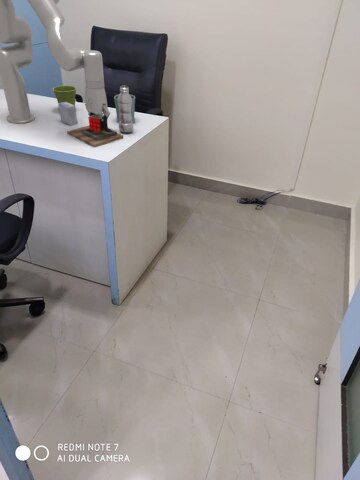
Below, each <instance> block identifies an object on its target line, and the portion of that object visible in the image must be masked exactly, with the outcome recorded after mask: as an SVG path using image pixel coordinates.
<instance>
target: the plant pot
mask: <svg viewBox="0 0 360 480" xmlns="http://www.w3.org/2000/svg"><path fill="white" fill-rule="evenodd" d="M52 91H53V93H54V95H55V98H56V100H57V103H58V104H59V103H62V102H68V103H70V104H72V105H75V106H76V94H77V93H76V92H77V87H76V86H73V85H59V86H55V87H53V88H52Z"/></svg>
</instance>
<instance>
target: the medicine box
mask: <svg viewBox="0 0 360 480" xmlns="http://www.w3.org/2000/svg"><path fill="white" fill-rule="evenodd" d="M76 108H77V107H76V104H75V105H72V104H70V103H68V102H62V103H59V104H58V111H59V118H60V121H61V122H62V123H64V124H67V125H69V126H73V125H76V124H77V125H78V117H77V115H78V114H77V110H76Z"/></svg>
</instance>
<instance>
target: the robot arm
mask: <svg viewBox="0 0 360 480" xmlns="http://www.w3.org/2000/svg"><path fill="white" fill-rule="evenodd" d="M27 2H28V4H29V5H30V7H31V8H32V10H33V12H34V13H35V14H36V16H37V18H38V19H39V21H40V22H41V24H42V25H43V27H44V30H45V32H46V35H45V37H46V43H47V46H48V50H49V51H50V53H51V55H52V57H53V58H54V59H55V61H56V62H57V64H58V66H59V67H61V69H63V70H64V71H65V72H74V71H76V70H80V69H83V70H84V73H83V74H84V79H85V80H84V81H85V89H84V103H85V104H84V106H85V109H86V111H87V112H88V113H87V114H88V117H89V116H92V115H94V114H97V115H99V116H100V118H101V121H100V125H101V130H104V129H107V124H108V119H109V117H110V115H111V112H110V111H109V109H108V100H107V93H106V89H105V80H104V79H105V78H104V77H105V76H104V64H103V63H104V62H103V56H102V53H101V52H100V51H99V50H94V49H93V50H92V49H87V48H84V47H81V46H80V47H73V48H69V49H68V48H67V46H66V45H65V44H64V42H63V40H62V37H61V33H60V32H61V31H60V30H61V28H62V27H63V25H64V23H65V16H64V15H63V14H62V12H61V11H60V9H59V7H58V6H57V4H58V3H60V0H27ZM32 35H33V34H32V30H31V27H30V24H29V23H28V21H27V20H26V19H25V18H23V17H22V16H16V9H15V6H14V3H13V1H12V0H0V43H1V44H4V45H3V46H0V80H1V84H2V88H3V92H4V97H5V100H6V105H7V111H8V113H9V115H8V116H7V117H6V119H7V121H8V122H9V123H12V124H25V123H26V124H27V123H31V122H33V121H34V120H35V119H36V117H35V116H36V115H34V114H33V113H31V108H30V103H29V98H28V92H27V88H26V83H25V79H24V77H23V75H22V73H20V71H19V69H22V68H26V67H28V66H30V65H32V62H33V59H34V57H33V36H32ZM6 44H7V45H6ZM102 115H104V116H103V117H102Z"/></svg>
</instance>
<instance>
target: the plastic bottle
mask: <svg viewBox="0 0 360 480" xmlns="http://www.w3.org/2000/svg"><path fill="white" fill-rule="evenodd" d="M129 89H130V88H129V86H128V85H121V86H119V94H118V95H119V96H118V99H117V101H118V106H119V113H120V120H119V123H118V128H119V131H120V132H121V133H125V134H127V133H128V134H129V133H131V132H132V131H134V123H132V117H131V107H132V98H131V96H130V95H131V94H130V93H129V92H130V90H129ZM129 94H130V95H129Z"/></svg>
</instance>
